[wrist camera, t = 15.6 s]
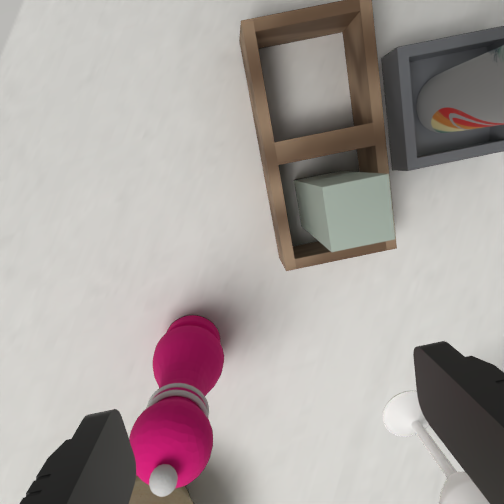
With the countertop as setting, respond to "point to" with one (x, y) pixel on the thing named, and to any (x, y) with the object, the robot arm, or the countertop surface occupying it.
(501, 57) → the lotion bottle
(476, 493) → the champagne flute
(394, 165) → the tray
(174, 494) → the planter bowl
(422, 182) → the countertop surface
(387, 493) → the countertop surface
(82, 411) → the countertop surface
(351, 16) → the frame
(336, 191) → the grey-green block
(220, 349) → the pepper mill
